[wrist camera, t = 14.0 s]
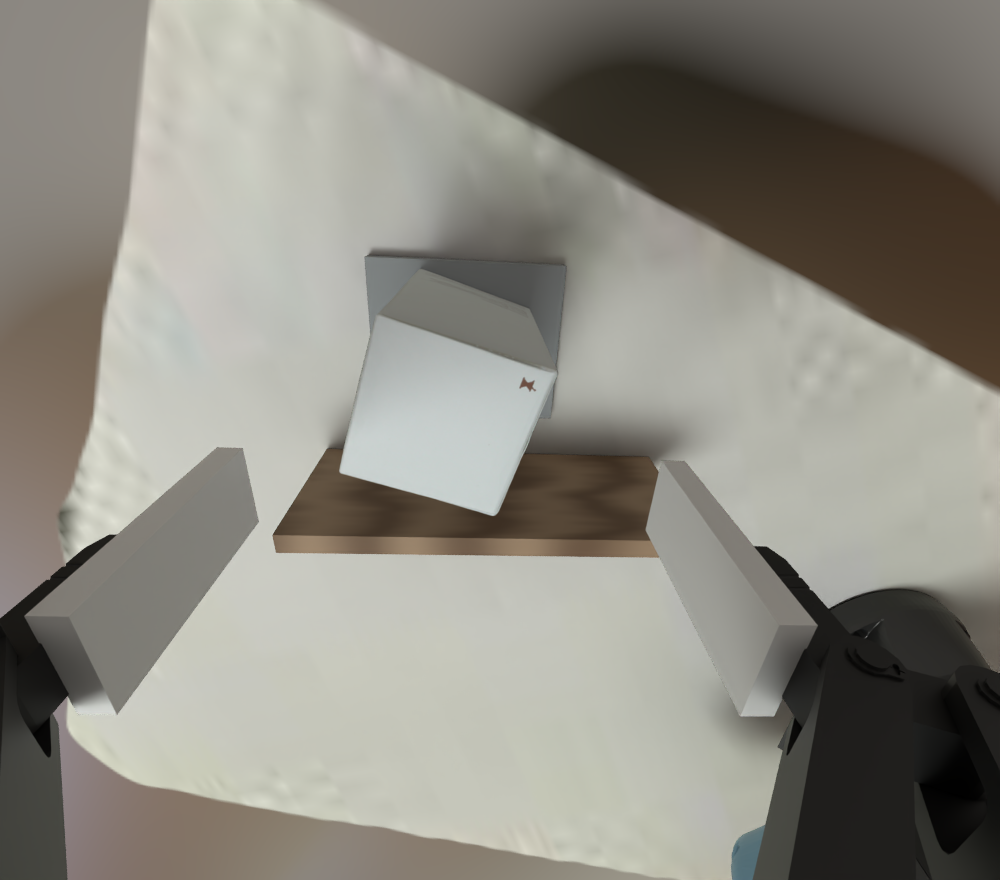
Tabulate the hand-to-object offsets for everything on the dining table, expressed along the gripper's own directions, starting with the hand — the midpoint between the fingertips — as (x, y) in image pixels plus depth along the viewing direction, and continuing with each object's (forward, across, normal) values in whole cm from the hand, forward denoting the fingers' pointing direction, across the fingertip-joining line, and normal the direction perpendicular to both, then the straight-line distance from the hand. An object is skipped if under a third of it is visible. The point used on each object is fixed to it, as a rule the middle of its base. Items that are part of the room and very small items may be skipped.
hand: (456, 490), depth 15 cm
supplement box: (+17, +1, 0) cm, 17 cm away
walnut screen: (+18, -2, +9) cm, 20 cm away
